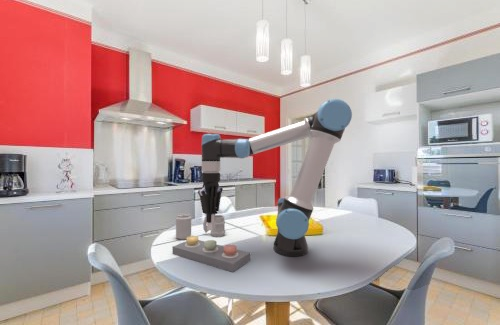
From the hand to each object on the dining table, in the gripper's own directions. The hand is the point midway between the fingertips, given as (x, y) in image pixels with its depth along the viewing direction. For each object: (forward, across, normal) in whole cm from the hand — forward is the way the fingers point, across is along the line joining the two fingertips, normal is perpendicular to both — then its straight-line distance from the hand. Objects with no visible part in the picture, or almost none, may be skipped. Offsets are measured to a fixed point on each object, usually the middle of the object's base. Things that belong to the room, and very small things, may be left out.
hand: (210, 229), depth 97 cm
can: (+11, -11, -27) cm, 31 cm away
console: (+11, 0, 0) cm, 11 cm away
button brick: (+7, 0, +10) cm, 12 cm away
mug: (+11, -23, -17) cm, 31 cm away
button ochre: (+7, 0, -10) cm, 12 cm away
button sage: (+7, 0, 0) cm, 7 cm away
